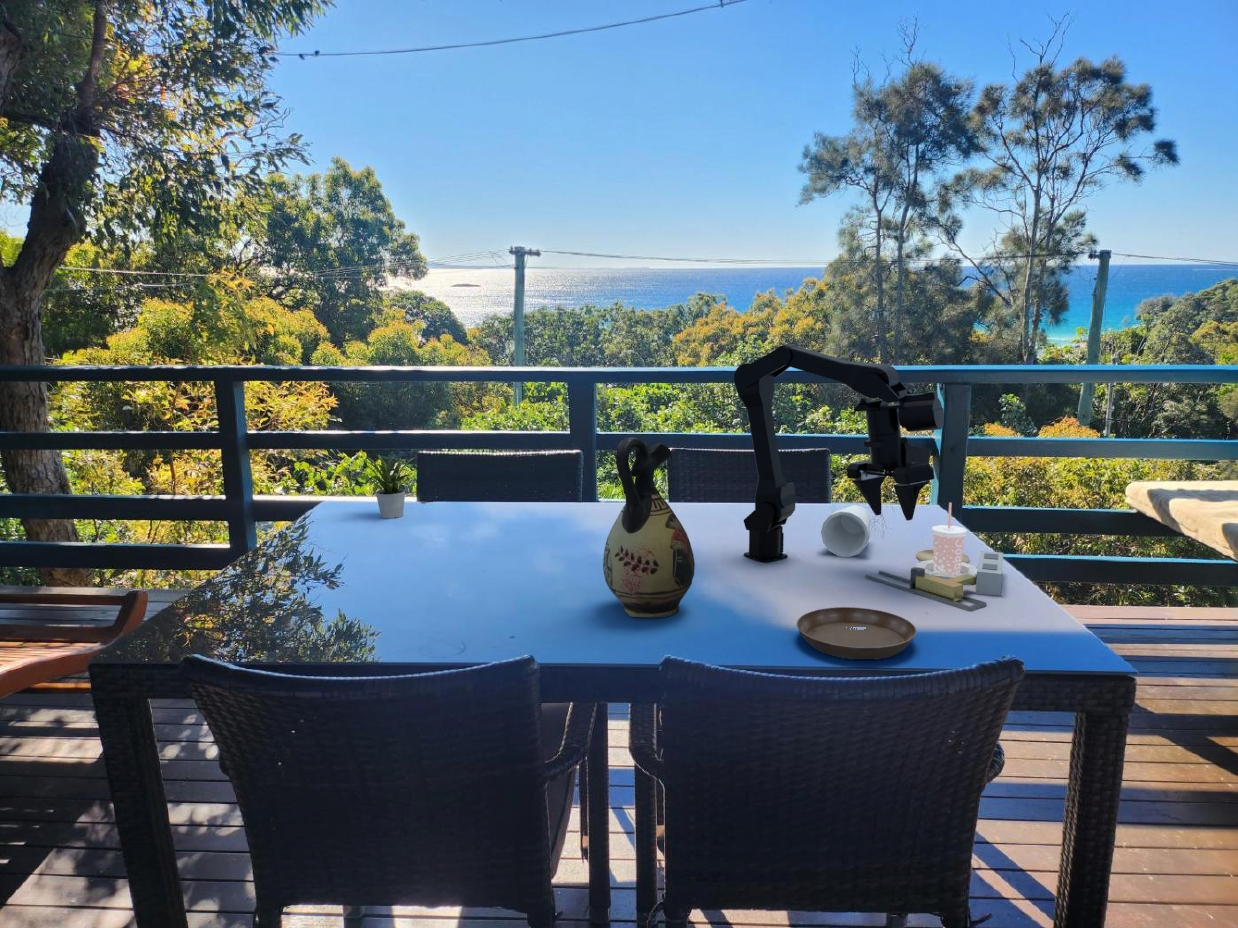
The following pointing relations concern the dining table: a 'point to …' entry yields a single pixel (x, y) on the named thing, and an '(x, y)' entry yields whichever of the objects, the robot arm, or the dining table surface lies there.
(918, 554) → the coaster
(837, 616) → the plant saucer
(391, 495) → the house plant
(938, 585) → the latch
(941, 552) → the beverage cup
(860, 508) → the foam cup
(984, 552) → the socket
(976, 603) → the rail
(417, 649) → the dining table surface
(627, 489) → the ceramic jug
